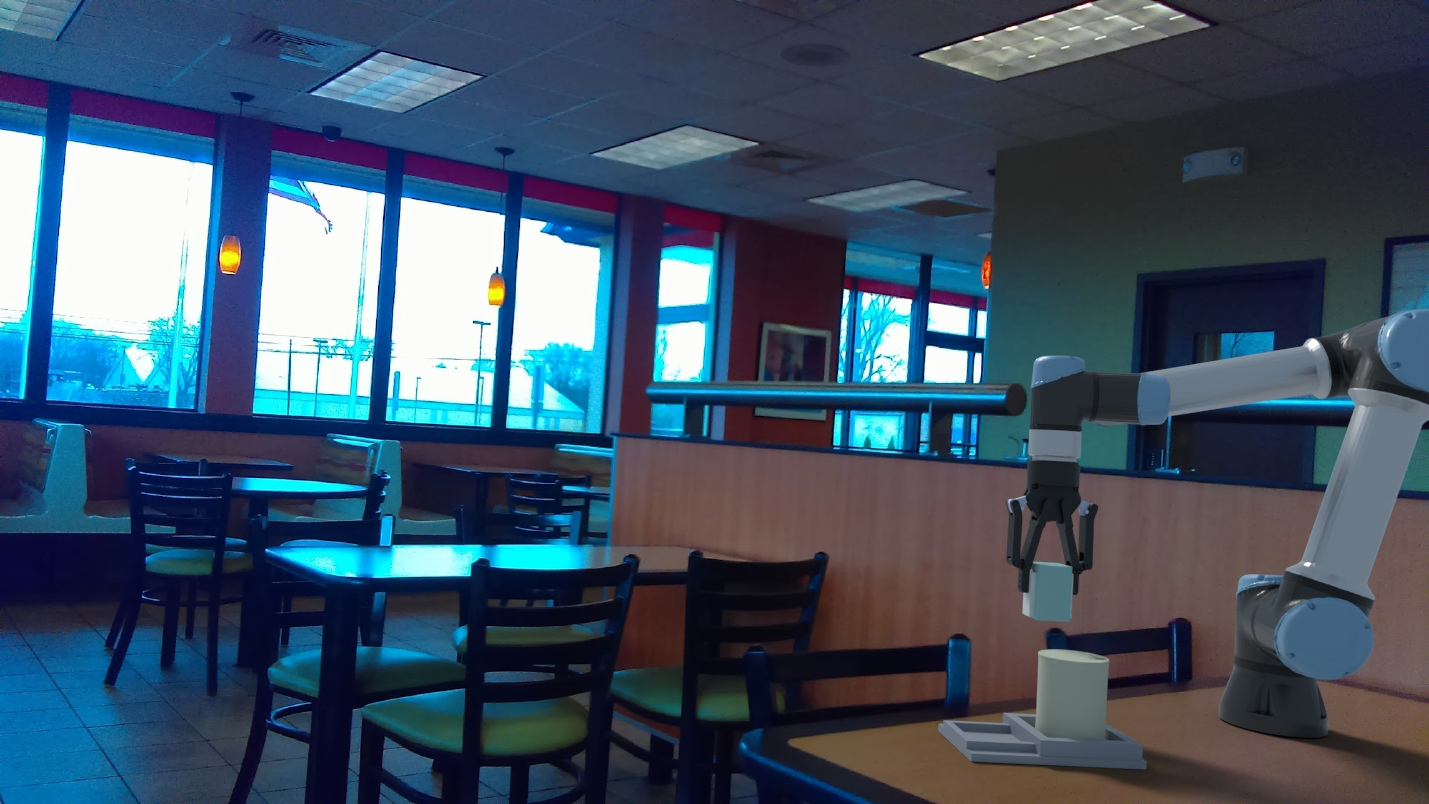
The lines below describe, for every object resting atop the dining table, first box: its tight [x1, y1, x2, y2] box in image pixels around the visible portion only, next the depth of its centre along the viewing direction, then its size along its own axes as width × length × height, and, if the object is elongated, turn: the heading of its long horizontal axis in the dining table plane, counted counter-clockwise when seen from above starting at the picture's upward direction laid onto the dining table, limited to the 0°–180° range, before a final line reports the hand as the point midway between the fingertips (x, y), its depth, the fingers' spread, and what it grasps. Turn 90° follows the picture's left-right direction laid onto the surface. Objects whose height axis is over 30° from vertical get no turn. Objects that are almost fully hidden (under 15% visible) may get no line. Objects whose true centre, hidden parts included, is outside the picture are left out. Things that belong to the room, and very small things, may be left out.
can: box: [1035, 648, 1110, 740], centre depth 145 cm, size 9×9×12 cm
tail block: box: [1025, 561, 1072, 622], centre depth 161 cm, size 5×5×8 cm
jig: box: [937, 712, 1148, 770], centre depth 144 cm, size 23×14×3 cm, turn 95°
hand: (1046, 615), depth 161 cm, fingers closed on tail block, 5 cm apart
